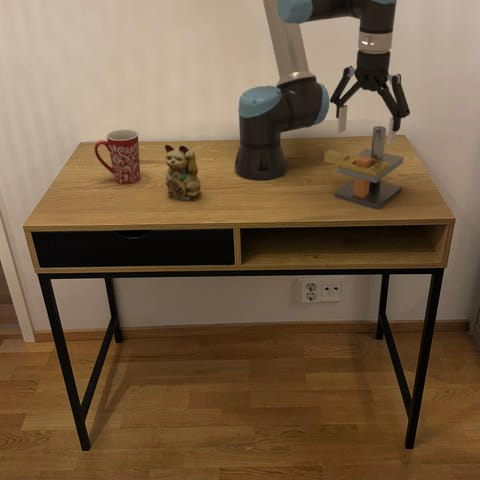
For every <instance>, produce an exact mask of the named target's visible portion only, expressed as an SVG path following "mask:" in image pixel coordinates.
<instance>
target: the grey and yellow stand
mask: <svg viewBox="0 0 480 480" xmlns="http://www.w3.org/2000/svg"><path fill="white" fill-rule="evenodd" d="M386 134H387V127H385V126H381V125H379V126H376V125H375V126H373V130H372V138H371V140H372V141H371V148H365V149H363V150H361V151H360V152H359V153H357V154H355V153H353V154H352V155H351V154H349V153H347V152H346V153H345V152H340V151H339V150H338V151H336V150H333V149H329V150H327V151H325V152H324V154H323V155H324V156H323V162H325V163H329V164H333V165H336V166H337V167H336V168H337V170H336V173H337V174H341V175H345V176H348V177H352V178H353V179H351V180H350V181H348V182H347V183H346V184H344V185H343V186H342V187H340V188H339V189H337V190H335V191H334V192H333V196H334V197H335V198H339V199H342V200H345V201H348V202H351V203H355V204H359V205H362V206H367V207H369V208H373V209H375V210H380V209H382V207H384V206H385V205H386V204H387V203H388V202H390V201H392V199H394V198H395V197H396V196H397V195H399V194H400V193H401V192H402V186H399V185H395V184H392V183H387V182H384V181H383V182H382V179H383V178H385V177H386V176H387V175H389V174H390V173H391V172H393V171H395V170H396V169H397V168H398V167H399V166H401V165H402V164H403V163H404V161H405V159H404V156H399V155H396V154H391V153H387V152H384V151H385V144H386V143H385V142H386ZM360 156H365V157H369V158H372V162H371V167H370V168H367V167H363V166H359V165H355V160H356V159H357V158H358V157H360ZM354 177H355V178H359V179H363V180H367V181H370V184H369V194H368V195H366V196H365V197H364V198H362V197H358V196H354V195H353V186H354Z"/></svg>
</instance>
